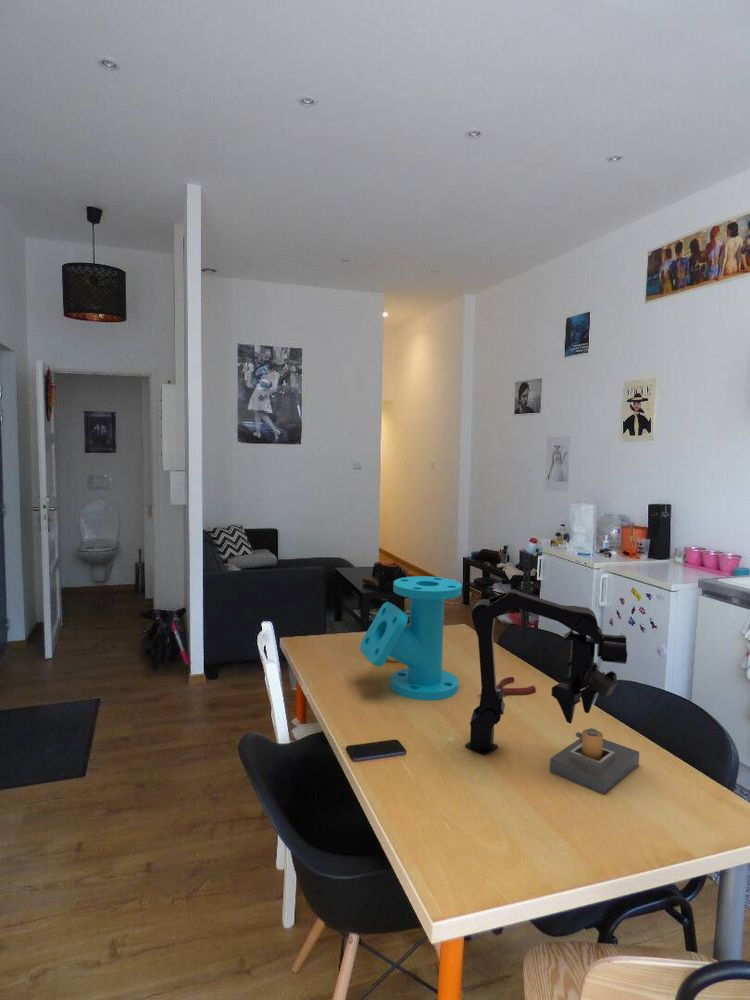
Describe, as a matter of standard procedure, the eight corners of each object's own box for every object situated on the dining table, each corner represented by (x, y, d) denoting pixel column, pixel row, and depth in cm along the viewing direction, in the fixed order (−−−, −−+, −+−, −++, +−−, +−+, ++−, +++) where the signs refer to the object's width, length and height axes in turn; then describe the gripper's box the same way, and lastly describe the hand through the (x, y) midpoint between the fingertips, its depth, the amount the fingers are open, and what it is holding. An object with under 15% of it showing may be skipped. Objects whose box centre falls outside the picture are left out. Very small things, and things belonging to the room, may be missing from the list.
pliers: (468, 694, 205) (468, 686, 205) (511, 682, 217) (511, 674, 217) (494, 707, 196) (494, 698, 196) (537, 693, 208) (537, 686, 207)
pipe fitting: (469, 696, 202) (473, 589, 199) (374, 706, 193) (377, 594, 190) (442, 672, 224) (445, 575, 220) (355, 680, 214) (357, 578, 211)
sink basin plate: (604, 794, 147) (605, 774, 146) (549, 771, 156) (550, 752, 156) (638, 764, 161) (639, 746, 160) (586, 745, 171) (587, 727, 170)
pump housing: (597, 763, 154) (597, 737, 153) (571, 754, 158) (571, 728, 157) (605, 755, 157) (606, 730, 156) (579, 746, 162) (580, 721, 161)
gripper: (594, 676, 147) (590, 740, 149) (629, 659, 160) (624, 718, 162) (552, 663, 155) (548, 724, 157) (588, 647, 168) (584, 704, 170)
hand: (578, 717), depth 161 cm, fingers open, 9 cm apart
